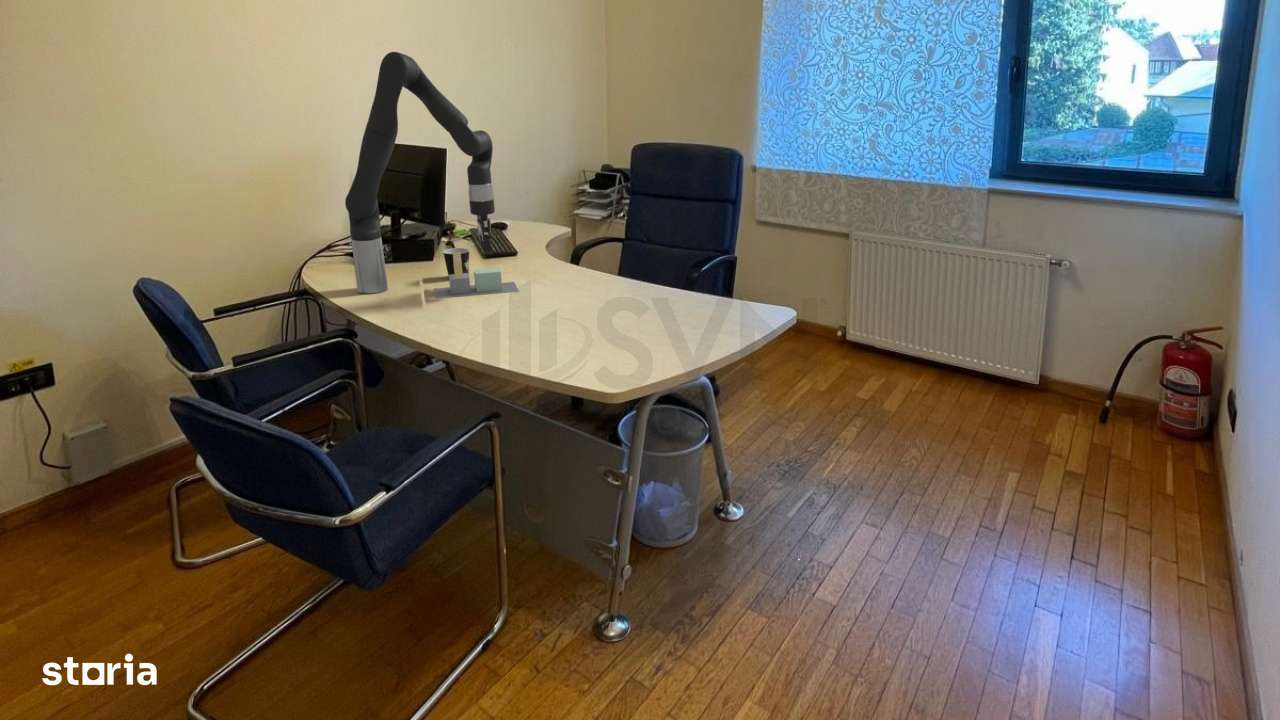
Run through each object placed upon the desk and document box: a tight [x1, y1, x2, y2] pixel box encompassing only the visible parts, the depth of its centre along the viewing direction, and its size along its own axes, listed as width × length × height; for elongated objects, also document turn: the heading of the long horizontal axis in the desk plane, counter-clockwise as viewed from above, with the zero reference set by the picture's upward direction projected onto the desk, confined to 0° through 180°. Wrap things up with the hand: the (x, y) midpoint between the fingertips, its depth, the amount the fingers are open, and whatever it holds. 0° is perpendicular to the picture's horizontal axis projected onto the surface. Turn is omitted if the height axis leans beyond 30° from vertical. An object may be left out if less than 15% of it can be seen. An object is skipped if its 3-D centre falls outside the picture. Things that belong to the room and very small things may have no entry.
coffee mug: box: [443, 247, 470, 277], centre depth 272 cm, size 12×9×10 cm
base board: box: [433, 273, 520, 300], centre depth 256 cm, size 26×12×6 cm, turn 106°
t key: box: [453, 252, 463, 278], centre depth 253 cm, size 14×2×6 cm, turn 13°
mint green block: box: [473, 267, 503, 292], centre depth 257 cm, size 8×5×6 cm, turn 106°
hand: (486, 249), depth 254 cm, fingers open, 8 cm apart
